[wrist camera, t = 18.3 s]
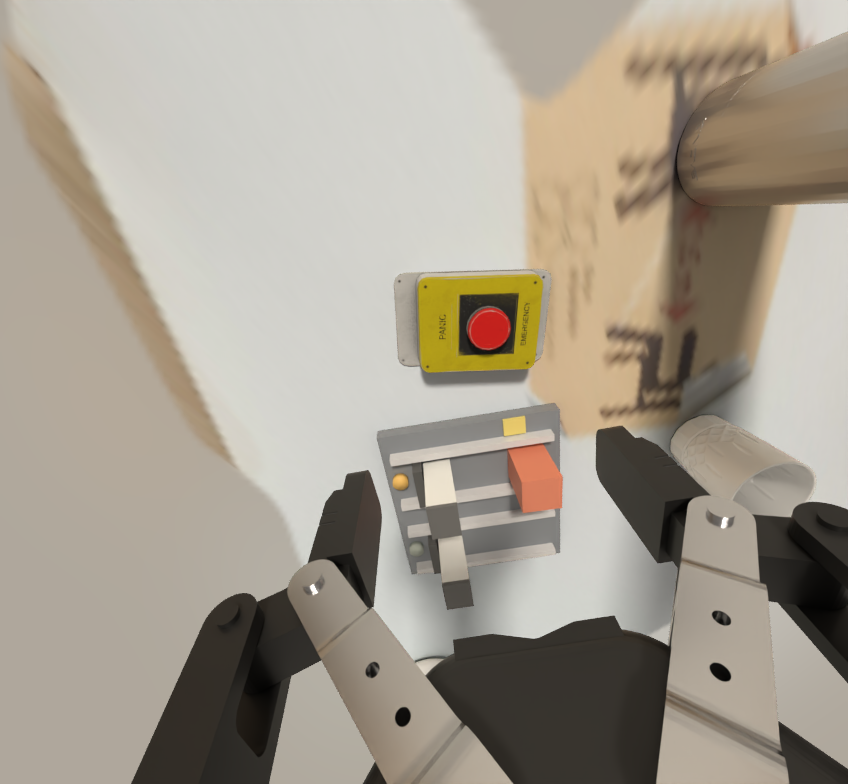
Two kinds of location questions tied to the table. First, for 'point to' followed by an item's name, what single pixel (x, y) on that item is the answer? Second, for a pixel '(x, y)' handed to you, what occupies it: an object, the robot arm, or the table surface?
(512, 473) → the cap
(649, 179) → the table surface
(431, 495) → the off-white rectangular block
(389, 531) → the table surface
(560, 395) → the table surface
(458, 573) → the block
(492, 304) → the emergency button
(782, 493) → the white cup
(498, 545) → the board
